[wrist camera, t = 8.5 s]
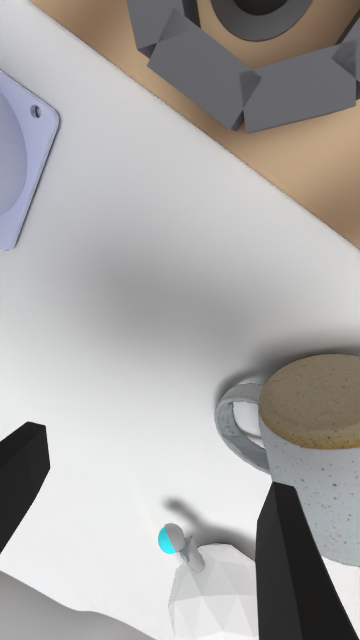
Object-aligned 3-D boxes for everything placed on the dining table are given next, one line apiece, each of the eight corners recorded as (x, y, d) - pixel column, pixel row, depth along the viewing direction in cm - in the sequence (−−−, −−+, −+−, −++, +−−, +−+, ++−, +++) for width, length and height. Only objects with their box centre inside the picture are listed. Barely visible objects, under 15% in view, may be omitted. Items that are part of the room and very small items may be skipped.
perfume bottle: (197, 633, 30) (113, 540, 28) (264, 565, 32) (187, 472, 30) (230, 740, 23) (116, 621, 21) (316, 644, 24) (217, 525, 22)
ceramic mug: (385, 333, 18) (453, 444, 11) (398, 441, 21) (458, 577, 14) (201, 364, 21) (174, 463, 15) (235, 454, 24) (225, 567, 18)
